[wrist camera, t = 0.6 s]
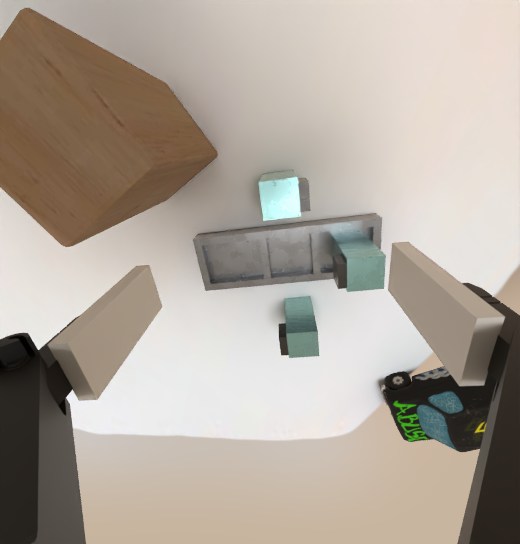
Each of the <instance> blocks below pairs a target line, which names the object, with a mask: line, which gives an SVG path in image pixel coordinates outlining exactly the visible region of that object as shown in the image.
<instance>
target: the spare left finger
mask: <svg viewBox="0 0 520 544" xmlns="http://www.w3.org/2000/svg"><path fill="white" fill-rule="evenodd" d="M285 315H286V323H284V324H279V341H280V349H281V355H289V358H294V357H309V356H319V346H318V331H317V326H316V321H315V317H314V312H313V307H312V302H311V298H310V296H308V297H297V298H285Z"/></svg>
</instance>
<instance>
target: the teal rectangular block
mask: <svg viewBox="0 0 520 544" xmlns="http://www.w3.org/2000/svg"><path fill="white" fill-rule="evenodd" d="M258 184H259V192H260V199H261V207H262V214H263V221H267V220H276V219H284V218H292V217H301V212H303V211H310V201H309V184H308V180H307V179H306V178H299V179H298V176H297V175H296V173H295V171H294V170H288V171H281V172H274V173H267V174H263V175H262V177H261V178H260V180H259V182H258Z"/></svg>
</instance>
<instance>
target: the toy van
mask: <svg viewBox="0 0 520 544" xmlns="http://www.w3.org/2000/svg"><path fill="white" fill-rule="evenodd" d="M496 383H497V380H496V379H495V378H494V377H493V376H492V375H491V374H490V373H489V371H488V374H487V377H486V380H485V384H484V385H481V386H459V385H458V384H457V382H456V381H455V380H454V378H453V377H452V375H451V374H450V373H449V371H448V370H447V369H446V367H445V366H444V367H440V368H437V369H434V370H431V371H428V372H424V373H421V374H418V375H415V376H412V382H411V379H410V376H409V375H408V374H407V373H405V372H397V373H393V374H390V375H389V376H387V377H386V384H387V386H388V388H389V389H388V388H386V387H385V385H384V384H383V385H381V392H382V395H383V397H384V399H385V402H386V404H387V405H388V406H389V408H390V410H391V415H392V417H393V419H394V421H395V423H396V426H397V427H398V430H399V432H400V433H401V435H402V437H403V439H404V440H407V441H409V442H413V441H420V440H430V439H435V440H437V441H439V442H441V443H443V444H445V445H447V446H449V447H451V448H453V449H455V450H457V451H459V452H467V451H471V450H476V449H480V448H481V444H482V440H483V435H484V431H485V427H486V423H487V419H488V414H489V410H490V406H489V404H490V401H491V398H492V395H493V392H494V389H495V386H496ZM384 392H385V393H386V395H385V393H384ZM386 397H387V398H386Z"/></svg>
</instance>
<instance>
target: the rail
mask: <svg viewBox="0 0 520 544" xmlns="http://www.w3.org/2000/svg"><path fill="white" fill-rule="evenodd" d="M381 227H382V218H381V217H380V216H378V215H377V214H376V213H375V214H367V215H358V216H350V217H341V218H333V219H324V220H316V221H307V222H299V223H290V224H282V225H273V226H265V227H256V228H248V229H239V230H231V231H222V232H214V233H205V234H198V235H197V236H196V237H195V238H194V239H193V242H194V246H195V250H196V254H197V258H198V262H199V266H200V270H201V274H202V278H203V282H204V286H205V290H206V291H208V290H218V289H229V288H240V287H251V286H261V285H272V284H283V283H293V282H304V281H315V280H325V279H334V280H335V282H336V285H337V287H338V289H341V288H346V290H347V292H351V291H362V290H374V289H384V276H385V257H386V255H385V254H384V253H383V252H382V251H381V250H380V249H381Z"/></svg>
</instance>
